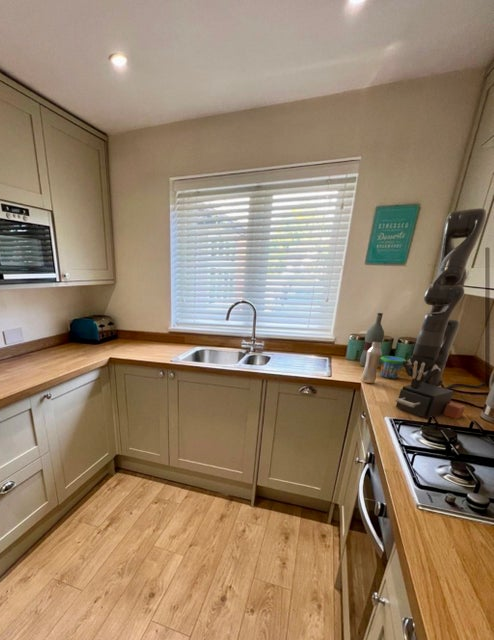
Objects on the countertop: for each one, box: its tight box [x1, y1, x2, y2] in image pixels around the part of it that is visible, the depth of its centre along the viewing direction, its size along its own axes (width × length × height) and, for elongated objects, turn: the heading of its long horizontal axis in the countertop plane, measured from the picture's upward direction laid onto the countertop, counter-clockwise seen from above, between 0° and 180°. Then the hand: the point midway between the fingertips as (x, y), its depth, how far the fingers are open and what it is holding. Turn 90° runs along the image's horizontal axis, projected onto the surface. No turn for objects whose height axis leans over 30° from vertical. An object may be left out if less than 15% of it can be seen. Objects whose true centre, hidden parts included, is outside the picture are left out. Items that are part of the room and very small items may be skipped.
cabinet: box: [396, 382, 454, 419], centre depth 131 cm, size 14×12×9 cm
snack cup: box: [379, 355, 407, 380], centre depth 171 cm, size 16×10×10 cm
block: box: [442, 402, 466, 420], centre depth 127 cm, size 4×4×4 cm
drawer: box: [395, 388, 432, 418], centre depth 129 cm, size 18×10×7 cm, turn 118°
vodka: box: [359, 312, 385, 368], centre depth 188 cm, size 9×9×30 cm
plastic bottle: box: [360, 342, 383, 384], centre depth 160 cm, size 6×7×20 cm
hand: (414, 388), depth 124 cm, fingers closed
